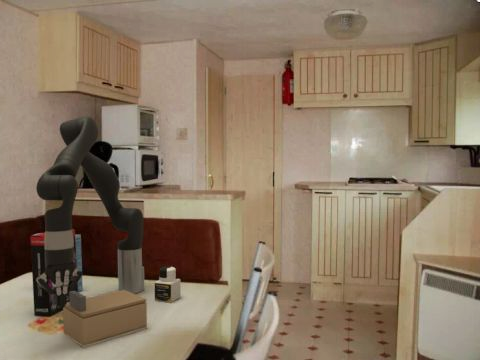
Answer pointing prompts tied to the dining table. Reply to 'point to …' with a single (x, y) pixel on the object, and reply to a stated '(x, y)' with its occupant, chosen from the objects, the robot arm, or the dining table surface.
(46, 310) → the graphics card box
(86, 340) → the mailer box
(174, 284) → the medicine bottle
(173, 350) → the dining table surface
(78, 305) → the lid
